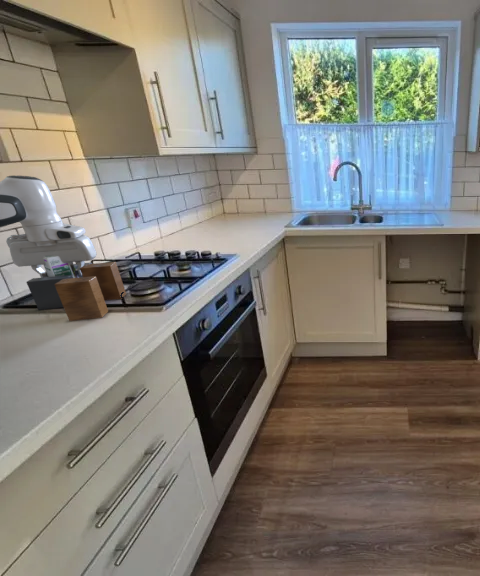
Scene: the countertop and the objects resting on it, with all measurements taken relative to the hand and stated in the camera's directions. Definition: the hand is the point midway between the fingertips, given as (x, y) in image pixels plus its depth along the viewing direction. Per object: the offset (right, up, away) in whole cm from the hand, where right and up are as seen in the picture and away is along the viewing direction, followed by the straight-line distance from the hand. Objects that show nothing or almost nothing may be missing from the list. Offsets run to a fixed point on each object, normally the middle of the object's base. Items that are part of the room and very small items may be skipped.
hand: (63, 276), depth 112 cm
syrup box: (0, -7, +3) cm, 8 cm away
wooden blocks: (+14, -9, -4) cm, 17 cm away
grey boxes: (0, -7, +3) cm, 7 cm away
